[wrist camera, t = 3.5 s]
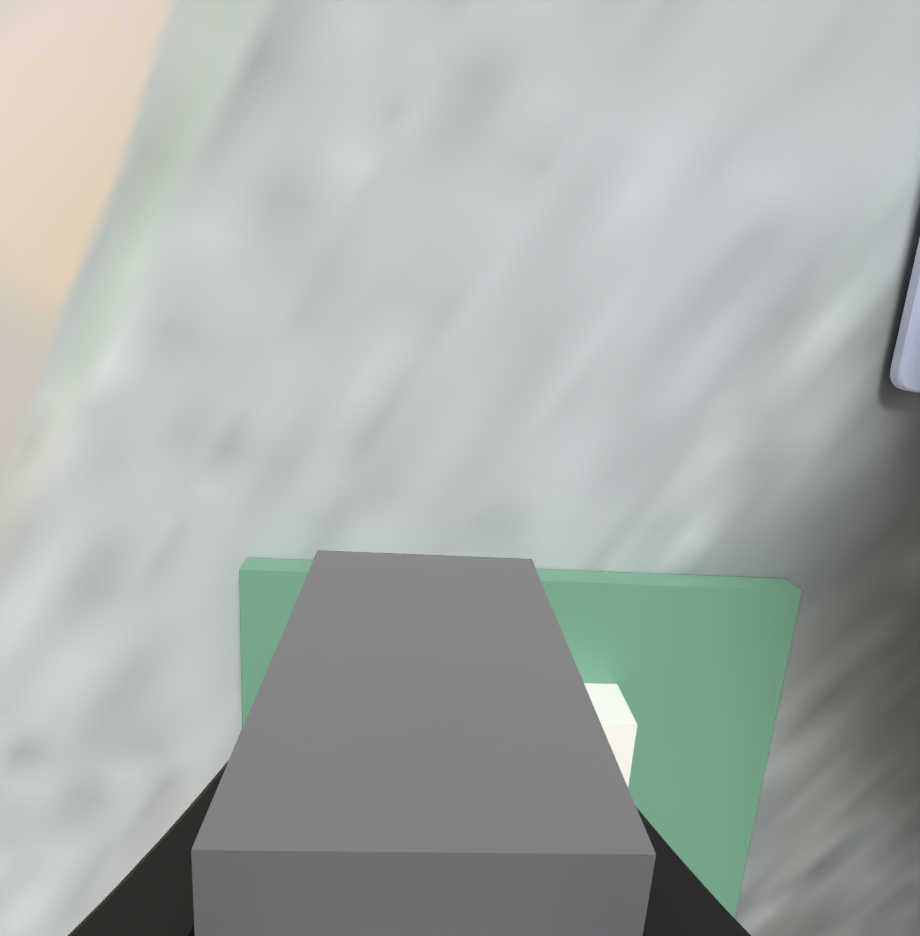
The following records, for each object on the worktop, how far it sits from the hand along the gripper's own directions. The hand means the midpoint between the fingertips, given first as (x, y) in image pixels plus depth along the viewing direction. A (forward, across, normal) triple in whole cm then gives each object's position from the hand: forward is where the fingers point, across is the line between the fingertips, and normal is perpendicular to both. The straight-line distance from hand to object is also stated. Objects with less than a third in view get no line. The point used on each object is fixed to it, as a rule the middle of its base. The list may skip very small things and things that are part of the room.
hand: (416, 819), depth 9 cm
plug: (+3, 0, 0) cm, 3 cm away
